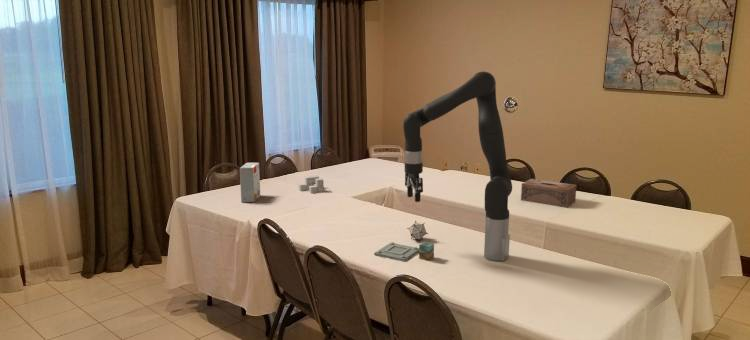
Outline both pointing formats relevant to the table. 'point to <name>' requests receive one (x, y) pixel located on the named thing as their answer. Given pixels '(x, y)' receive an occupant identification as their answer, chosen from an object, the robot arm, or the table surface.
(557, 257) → the table surface
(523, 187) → the tissue box cover
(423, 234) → the grey faceted piece
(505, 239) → the robot arm
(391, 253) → the baseplate
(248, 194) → the hard drive box
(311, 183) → the grey block assembly
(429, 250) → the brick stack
